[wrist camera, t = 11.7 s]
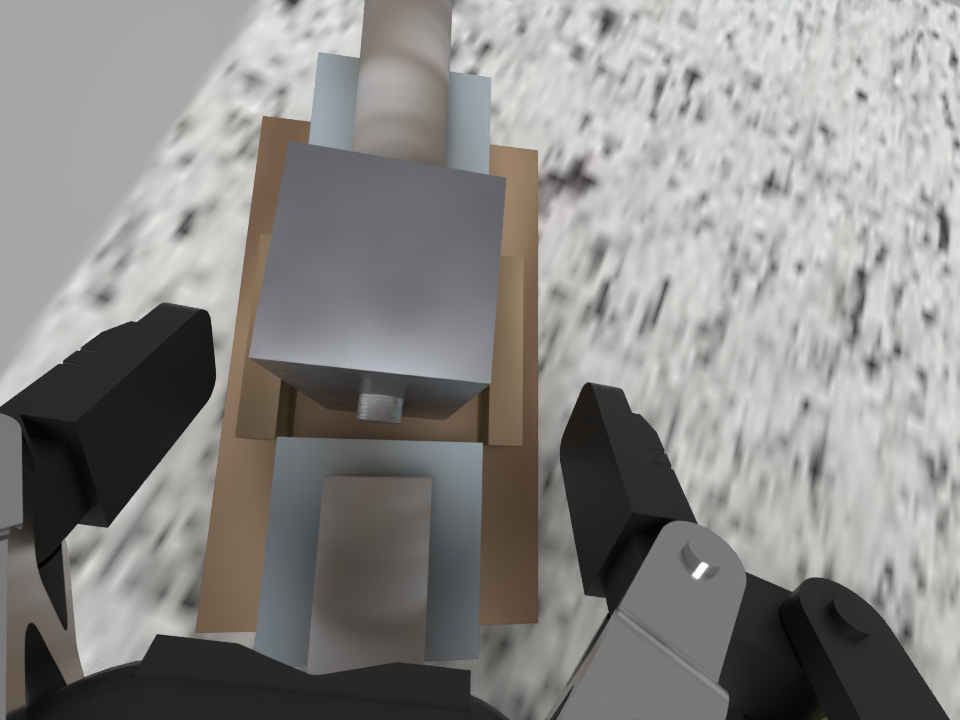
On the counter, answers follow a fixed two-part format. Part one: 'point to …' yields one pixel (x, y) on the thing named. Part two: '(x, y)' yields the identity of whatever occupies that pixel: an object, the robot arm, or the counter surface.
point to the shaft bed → (380, 446)
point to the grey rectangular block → (381, 283)
